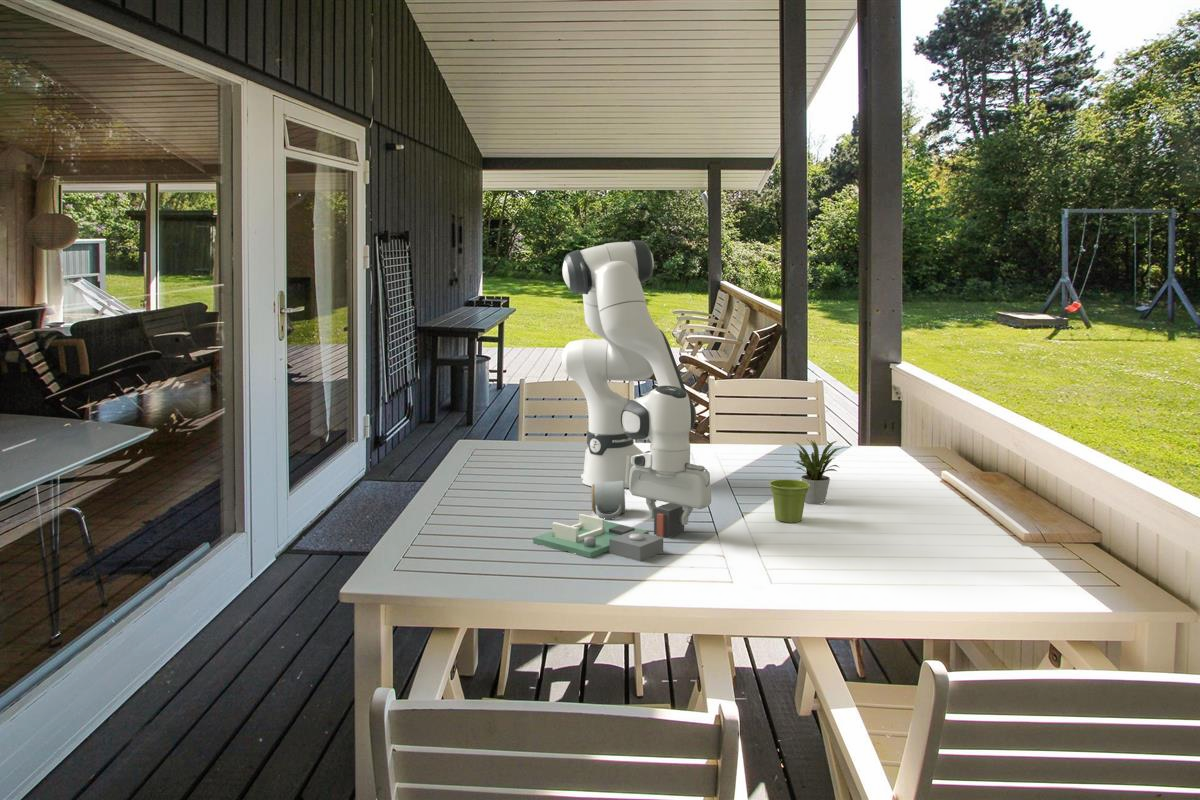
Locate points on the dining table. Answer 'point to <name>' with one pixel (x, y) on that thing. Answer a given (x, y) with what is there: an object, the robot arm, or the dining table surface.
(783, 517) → the plant pot
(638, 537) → the gray push button box
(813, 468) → the house plant
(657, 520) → the plug
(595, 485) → the ceramic mug
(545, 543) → the board
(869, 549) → the dining table surface
